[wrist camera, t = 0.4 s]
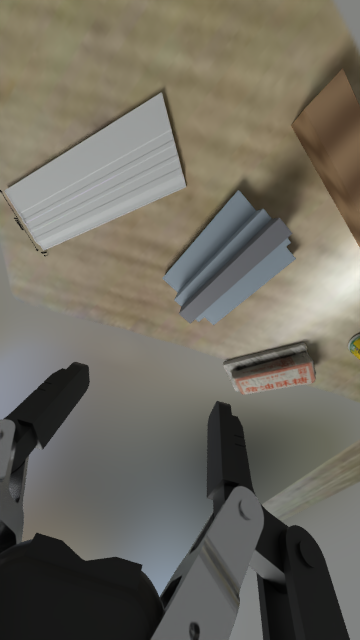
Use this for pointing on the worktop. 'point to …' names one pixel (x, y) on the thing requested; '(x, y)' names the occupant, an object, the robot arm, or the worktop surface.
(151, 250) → the worktop surface
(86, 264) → the worktop surface
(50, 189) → the baseboard molding
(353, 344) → the supplement bottle
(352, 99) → the walnut batten
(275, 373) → the packaged product
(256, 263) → the ridge stand
